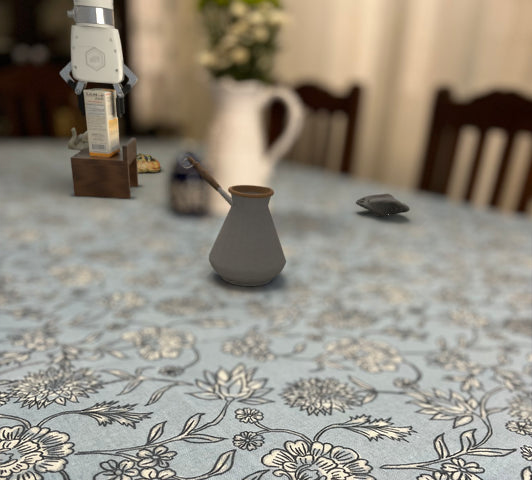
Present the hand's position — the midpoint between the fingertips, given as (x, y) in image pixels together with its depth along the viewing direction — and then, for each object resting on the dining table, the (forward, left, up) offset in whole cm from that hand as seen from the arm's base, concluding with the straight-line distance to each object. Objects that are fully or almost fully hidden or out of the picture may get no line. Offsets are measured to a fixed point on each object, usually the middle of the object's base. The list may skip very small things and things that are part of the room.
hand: (102, 115), depth 113 cm
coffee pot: (+27, -49, -16) cm, 58 cm away
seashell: (+63, -11, -16) cm, 66 cm away
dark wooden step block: (0, 0, -16) cm, 16 cm away
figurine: (-5, +13, -16) cm, 22 cm away
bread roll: (+4, +28, -16) cm, 33 cm away
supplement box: (0, 0, -8) cm, 8 cm away
